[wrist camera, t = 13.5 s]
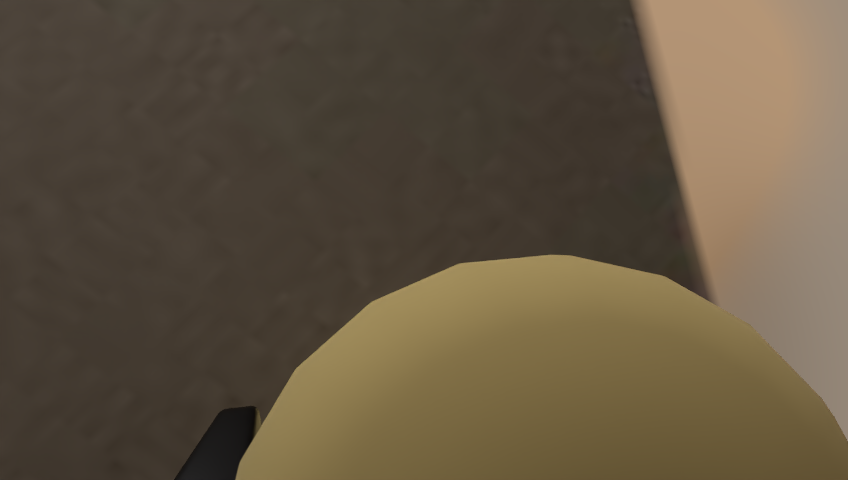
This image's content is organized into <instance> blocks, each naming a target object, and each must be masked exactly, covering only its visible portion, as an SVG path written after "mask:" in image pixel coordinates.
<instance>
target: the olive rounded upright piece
mask: <svg viewBox="0 0 848 480" xmlns="http://www.w3.org/2000/svg"><path fill="white" fill-rule="evenodd" d="M235 480H848V441H847V439H846V437H845V436H844V434H843V432H842V431H841V428H840V427H839V425H838V423H837V421H836V419H835V417H834V416H833V415H832V413H831V412H830V410H829V409H828V407H827V406H826V404H825V403H824V401H823V400H822V398H821V397H820V396H819V395H818V394H817V393H816V392H815V391H814V390H813V389H812V388H811V387H810V386H809V385H808V384H807V383H806V382H805V381H804V380H803V379H802V378H801V377H800V376H799V375H798V374H797V373H796V372H795V371H794V370H793V369H792V368H791V366H789V364H788V363H787V362H786V361H785V360H784V359H783V358H782V357H781V356H780V355H779V354H778V353H777V352H776V351H775V350H774V349H773V348H772V347H771V346H770V345H769V344H768V343H767V342H766V341H765V340H764V339H763V338H762V337H761V336H760V335H759V334H758V333H757V332H756V331H755V329H754V328H753V327H752V326H751V325H749V324H748V323H746V322H744V321H742V320H741V319H739V318H737V317H735V316H734V315H732V314H730V313H728V312H727V311H725V310H723V309H721V308H719V307H718V306H716V305H714V304H712V303H711V302H709V301H707V300H705V299H704V298H702V297H700V296H698V295H697V294H695V293H693V292H691V291H689V290H688V289H686V288H684V287H682V286H681V285H679V284H677V283H675V282H674V281H672V280H670V279H668V278H667V277H665V276H661V275H656V274H652V273H647V272H643V271H638V270H634V269H629V268H625V267H620V266H616V265H611V264H606V263H602V262H597V261H593V260H588V259H584V258H579V257H575V256H568V255H544V256H534V257H523V258H513V259H502V260H492V261H481V262H471V263H460V264H457V265H455V266H453V267H450V268H448V269H446V270H443V271H441V272H439V273H437V274H434V275H432V276H430V277H427V278H425V279H423V280H421V281H418V282H416V283H414V284H411V285H409V286H407V287H405V288H402V289H400V290H398V291H395V292H393V293H391V294H388V295H386V296H384V297H382V298H379V299H377V300H375V301H372V302H371V303H370V304H369V305H367V306H366V307H365V308H364V309H363V310H362V311H361V312H360V313H358V314H357V315H356V316H355V317H354V318H353V319H352V320H350V321H349V322H348V323H347V324H346V325H345V326H344V327H343V328H341V329H340V330H339V331H338V332H337V333H336V334H335V335H334V336H332V337H331V338H330V339H329V340H328V341H327V342H326V343H324V344H323V345H322V346H321V347H320V348H319V349H318V350H317V351H315V352H314V353H313V354H312V355H311V356H310V357H309V358H308V359H306V360H305V361H304V362H303V363H302V364H301V365H300V366H299V367H297V368H296V369H295V371H294V373H293V374H292V376H291V378H290V379H289V381H288V383H287V384H286V386H285V388H284V389H283V391H282V393H281V394H280V396H279V398H278V399H277V401H276V402H275V404H274V406H273V407H272V409H271V411H270V412H269V414H268V416H267V417H266V419H265V421H264V422H263V424H262V426H261V427H260V429H259V431H258V432H257V434H256V436H255V437H254V439H253V441H252V442H251V444H250V446H249V447H248V449H247V451H246V452H245V454H244V456H243V457H242V459H241V461H240V463H239V467H238V471H237V475H236V479H235Z"/></svg>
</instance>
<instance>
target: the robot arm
mask: <svg viewBox="0 0 848 480" xmlns="http://www.w3.org/2000/svg"><path fill="white" fill-rule="evenodd" d="M260 427H261V420H260V414H259V411H258V409H257V408H256V407H254V406H246V407H238V408H229V409H224V410H222V411H221V412H219V413H218V415H217V416H216V418H215V419H214V421H213V422H212V424H211V425H210V427H209V428H208V430H207V431H206V433H205V434H204V436H203V437H202V439H201V440H200V442H199V443H198V445H197V446H196V448H195V449H194V451H193V452H192V454H191V455H190V457H189V458H188V460H187V461H186V463H185V464H184V466H183V467H182V469H181V470H180V472H179V473H178V475H177V476H176V477H175V479H174V480H235V479H236V475H237V471H238V467H239V463H240V461H241V459H242V457H243V456H244V454H245V452H246V451H247V449H248V447H249V446H250V444H251V442H252V441H253V439H254V437H255V436H256V434H257V432H258V431H259V429H260Z"/></svg>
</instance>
